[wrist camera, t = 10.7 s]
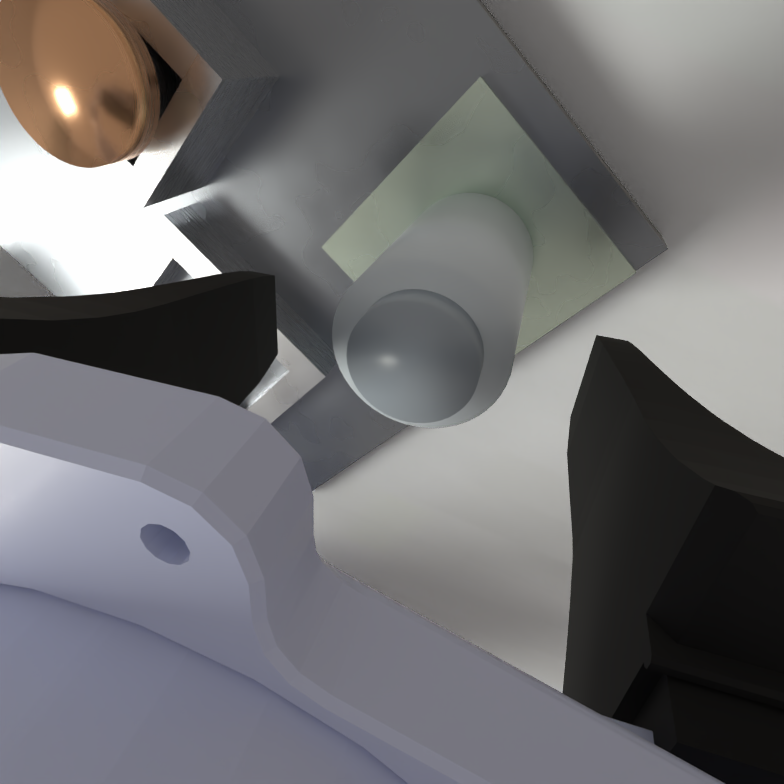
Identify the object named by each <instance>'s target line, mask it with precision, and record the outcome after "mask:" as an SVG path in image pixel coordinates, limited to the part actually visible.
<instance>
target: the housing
mask: <svg viewBox="0 0 784 784" xmlns="http://www.w3.org/2000/svg"><path fill="white" fill-rule="evenodd" d="M109 1H110V2H112V3H113V4H114V5H116V6H117V7H118V8H119V9H120V10H121V11H122V12H123V13H124V14H125V15H126V17H127V18H128V19H129V20H130V21H131V23H132V24H133V25H134V27H135V28H136V30H137V31H138V32H139V34H140V35H141V36H142V37H143V38H144V39H145V40H146V41H147V42H148V43H149V44H150V45H151V46H152V47H153V49H154V50H155V51H156V52H157V53H158V54H159V55H160V56H161V57H162V58H163V59H164V60H165V61H166V62H167V64H168V65H169V66H170V67H171V68H172V69H173V70H174V71H175V72H176V73H177V74H178V75H179V76H180V77H181V79H182V81H181V83H180V85H179V87H178V88H177V90H176V92H175V94H174V95H173V97H172V99H171V101H170V102H169V104H168V106H167V108H166V109H165V111H164V113H163V115H162V117H161V118H160V120H159V122H158V126H157V129H156V133H155V135H154V137H153V139H152V141H151V142H150V144H149V145H148V147H147V148H146V149H145V150H144V151H143V152H142V153H141V154H139V155H138V156H136V157H134V158H132V159H130V160H126V161H122V162H117V163H113V164H109V165H104V166H100V167H95V168H83V167H77V166H73V165H70V164H68V163H65V162H63V161H61V160H59V159H57V158H56V157H54V156H52V155H51V154H50V153H48V152H47V151H46V150H44V149H43V148H42V147H41V146H40V145H39V144H37V143H36V142H35V141H34V139H33V138H32V137H31V136H30V135H29V134H28V133H27V132H26V130H25V129H24V128H23V127H22V125H21V124H20V123H19V121H18V120H17V118H16V117H15V115H14V113H13V112H12V110H11V108H10V106H9V105H8V103H7V100H6V98H5V96H4V94H3V92H2V89H1V87H0V246H1V247H2V248H3V249H4V250H5V251H7V252H8V253H9V254H10V255H11V256H12V257H13V258H14V259H15V260H16V261H18V262H19V263H20V264H21V265H22V266H23V267H24V268H25V269H26V270H27V271H29V272H30V273H31V274H32V275H33V276H34V277H35V278H36V279H37V280H38V281H40V282H41V283H42V284H43V285H44V286H45V287H46V288H47V289H48V290H49V291H51V292H52V293H53V294H54V295H55V296H56V297H58V296H79V295H90V294H101V293H110V292H119V291H126V290H132V289H138V288H144V287H150V286H156V285H162V284H168V283H174V282H179V281H184V280H189V279H194V278H199V277H205V276H210V275H215V274H222V273H228V272H236V271H253V272H259V273H264V274H270V275H275V291H276V315H277V340H278V355H277V356H276V358H275V359H274V361H273V363H272V364H271V366H270V368H269V369H268V371H267V372H266V374H265V375H264V377H263V378H262V380H261V381H260V383H259V384H258V385H257V386H256V387H255V388H254V390H253V391H252V392H251V393H250V394H249V395H248V396H247V397H246V398H245V400H244V401H243V402H242V403H241V404H240V405H239V406H240V407H242V408H244V409H246V410H248V411H250V412H253V413H255V414H257V415H259V416H261V417H263V418H265V419H267V420H268V422H269V423H270V424H271V425H272V426H273V427H274V428H275V429H276V430H277V431H278V432H279V433H280V434H281V436H282V437H283V438H284V439H285V440H286V441H287V442H288V443H289V444H290V445H291V446H292V447H293V448H294V449H295V451H296V452H297V453H298V454H299V455H300V456H301V458H302V461H303V464H304V468H305V471H306V474H307V477H308V480H309V484H310V487H311V490H314V489H315V488H317V487H318V486H320V485H321V484H323V483H324V482H326V481H327V480H329V479H330V478H332V477H333V476H334V475H336V474H337V473H339V472H340V471H342V470H343V469H345V468H346V467H348V466H349V465H351V464H352V463H354V462H355V461H357V460H358V459H359V458H361V457H362V456H364V455H365V454H367V453H368V452H370V451H371V450H373V449H374V448H376V447H377V446H379V445H380V444H382V443H383V442H384V441H386V440H387V439H389V438H390V437H392V436H393V435H395V434H396V433H398V432H399V431H401V430H402V429H404V428H405V427H406V426H408V425H407V424H403V423H400V422H397V421H394V420H392V419H390V418H388V417H386V416H384V415H382V414H381V413H379V412H377V411H376V410H374V409H373V408H371V407H370V406H369V405H367V404H366V403H365V402H364V401H363V400H362V399H361V398H360V397H359V396H358V395H357V394H356V393H355V392H354V391H353V389H352V388H351V387H350V386H349V384H348V383H347V381H346V380H345V378H344V376H343V374H342V373H341V371H340V369H339V366H338V363H337V361H336V358H335V354H334V350H333V342H332V326H333V320H334V316H335V313H336V309H337V307H338V305H339V302H340V300H341V298H342V297H343V295H344V294H345V292H346V291H347V289H348V288H349V287H350V286H351V285H352V284H353V283H354V282H355V281H356V280H357V279H358V278H359V277H360V276H361V275H362V274H363V273H364V272H365V271H366V270H367V269H368V268H369V267H370V266H371V265H372V264H373V263H374V262H375V261H376V260H377V259H378V258H379V257H380V255H381V254H382V253H383V252H384V251H385V250H386V249H387V248H388V247H389V246H390V245H391V244H392V243H393V242H394V241H395V240H396V239H397V238H398V237H399V236H400V235H401V234H402V233H403V232H404V231H405V230H406V229H407V228H408V227H409V226H410V225H411V224H412V223H413V222H414V221H415V220H416V219H417V218H418V217H419V216H420V215H421V214H422V213H423V212H424V211H425V210H426V209H427V208H428V207H430V206H431V205H432V204H433V203H435V202H437V201H438V200H440V199H443V198H445V197H447V196H450V195H454V194H459V193H479V194H484V195H488V196H491V197H493V198H496V199H498V200H500V201H501V202H503V203H505V204H506V205H508V206H509V207H510V208H511V209H512V210H514V211H515V212H516V214H517V215H518V216H519V217H520V218H521V220H522V221H523V223H524V224H525V226H526V228H527V230H528V232H529V235H530V238H531V241H532V246H533V267H532V272H531V277H530V282H529V287H528V292H527V297H526V302H525V307H524V312H523V316H522V321H521V326H520V331H519V336H518V341H517V346H516V351H515V355H516V354H517V353H519V352H520V351H522V350H523V349H524V348H526V347H527V346H529V345H530V344H532V343H533V342H535V341H536V340H538V339H539V338H541V337H542V336H544V335H545V334H547V333H548V332H550V331H551V330H552V329H554V328H555V327H557V326H558V325H560V324H561V323H563V322H564V321H566V320H567V319H569V318H570V317H572V316H573V315H575V314H576V313H578V312H579V311H581V310H582V309H583V308H585V307H586V306H588V305H589V304H591V303H592V302H594V301H595V300H597V299H598V298H600V297H601V296H603V295H604V294H606V293H607V292H609V291H610V290H612V289H613V288H614V287H616V286H617V285H619V284H620V283H622V282H623V281H625V280H626V279H628V278H629V277H631V276H632V275H634V274H635V273H636V270H637V269H639V268H640V267H642V266H643V265H644V264H646V263H647V262H649V261H650V260H652V259H653V258H655V257H656V256H658V255H659V254H661V253H662V252H664V251H665V250H667V249H668V248H667V246H666V244H665V242H664V240H663V238H662V236H661V235H660V234H659V232H658V231H657V230H656V228H655V227H654V226H653V224H652V223H651V222H650V221H649V219H648V218H647V217H646V215H645V214H644V213H643V211H642V210H641V209H640V208H639V206H638V205H637V204H636V202H635V201H634V200H633V198H632V197H631V196H630V195H629V193H628V192H627V191H626V189H625V188H624V187H623V185H622V184H621V183H620V182H619V180H618V179H617V178H616V176H615V175H614V174H613V172H612V171H611V170H610V168H609V167H608V166H607V165H606V163H605V162H604V161H603V159H602V158H601V157H600V155H599V154H598V153H597V152H596V150H595V149H594V148H593V146H592V145H591V144H590V142H589V141H588V140H587V139H586V137H585V136H584V135H583V133H582V132H581V131H580V129H579V128H578V127H577V126H576V124H575V123H574V122H573V120H572V119H571V118H570V116H569V115H568V114H567V113H566V111H565V110H564V109H563V107H562V106H561V105H560V103H559V102H558V101H557V99H556V98H555V97H554V96H553V94H552V93H551V92H550V90H549V89H548V88H547V86H546V85H545V84H544V83H543V81H542V80H541V79H540V77H539V76H538V75H537V73H536V72H535V71H534V70H533V68H532V67H531V66H530V64H529V63H528V62H527V60H526V59H525V58H524V57H523V55H522V54H521V53H520V51H519V50H518V49H517V47H516V46H515V45H514V44H513V42H512V41H511V40H510V38H509V37H508V36H507V34H506V33H505V32H504V30H503V29H502V28H501V27H500V25H499V24H498V23H497V21H496V20H495V19H494V17H493V16H492V15H491V14H490V12H489V11H488V10H487V8H486V7H485V6H484V4H483V3H482V2H481V1H480V0H109Z"/></svg>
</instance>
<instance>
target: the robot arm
mask: <svg viewBox="0 0 784 784" xmlns="http://www.w3.org/2000/svg"><path fill="white" fill-rule="evenodd" d="M277 355H278V340H277V315H276V291H275V275H270V274H264V273H259V272H253V271H236V272H228V273H222V274H215V275H210V276H205V277H199V278H194V279H189V280H184V281H179V282H174V283H168V284H162V285H156V286H150V287H144V288H138V289H132V290H126V291H119V292H110V293H101V294H90V295H79V296H58V297H22V298H9V297H0V784H784V457H782V456H780V455H778V454H776V453H774V452H773V451H771V450H769V449H767V448H765V447H764V446H762V445H760V444H759V443H757V442H755V441H753V440H752V439H750V438H748V437H747V436H745V435H744V434H742V433H741V432H739V431H738V430H736V429H735V428H733V427H732V426H730V425H729V424H727V423H725V422H724V421H722V420H721V419H720V418H718V417H717V416H715V415H714V414H713V413H711V412H710V411H709V410H707V409H706V408H705V407H703V406H702V405H701V404H700V403H698V402H697V401H696V400H695V399H693V398H692V397H691V396H690V395H688V394H687V393H686V392H685V391H684V390H682V389H681V388H680V387H679V386H678V385H677V384H675V383H674V382H673V381H672V380H671V379H670V378H669V377H668V376H667V375H666V374H664V373H663V372H662V371H661V370H660V369H659V368H658V367H657V366H656V365H655V364H654V363H653V362H652V361H651V360H649V359H648V358H647V357H646V356H645V355H644V354H643V353H642V352H641V351H640V350H639V349H638V348H636V347H635V346H634V345H633V344H631V343H630V342H628V341H625V340H620V339H614V338H609V337H603V336H598V335H596V338H595V341H594V345H593V348H592V351H591V354H590V357H589V360H588V364H587V367H586V370H585V373H584V376H583V379H582V383H581V386H580V389H579V392H578V395H577V398H576V402H575V405H574V408H573V411H572V414H571V419H570V429H569V439H568V451H567V457H568V475H569V491H570V506H571V521H572V535H573V563H572V580H571V597H570V611H569V625H568V638H567V651H566V662H565V673H564V684H563V693H561V692H559V691H557V690H555V689H554V688H552V687H550V686H548V685H546V684H545V683H543V682H541V681H539V680H537V679H536V678H534V677H532V676H530V675H528V674H527V673H525V672H523V671H521V670H519V669H518V668H516V667H514V666H512V665H510V664H508V663H507V662H505V661H503V660H501V659H499V658H498V657H496V656H494V655H492V654H490V653H489V652H487V651H485V650H483V649H481V648H480V647H478V646H476V645H474V644H472V643H471V642H469V641H467V640H465V639H463V638H462V637H460V636H458V635H456V634H454V633H453V632H451V631H449V630H447V629H445V628H444V627H442V626H440V625H438V624H436V623H434V622H433V621H431V620H429V619H427V618H425V617H424V616H422V615H420V614H418V613H416V612H415V611H413V610H411V609H409V608H407V607H406V606H404V605H402V604H400V603H398V602H397V601H395V600H393V599H391V598H389V597H388V596H386V595H384V594H382V593H380V592H379V591H377V590H375V589H373V588H371V587H370V586H368V585H366V584H364V583H362V582H360V581H359V580H357V579H355V578H353V577H351V576H350V575H348V574H346V573H344V572H342V571H341V570H339V569H337V568H335V567H333V566H332V565H330V564H328V563H326V562H325V561H324V560H323V559H322V558H321V557H320V556H319V555H318V553H317V552H316V547H315V541H314V535H313V493H312V490H311V487H310V484H309V480H308V477H307V474H306V471H305V468H304V464H303V461H302V458H301V456H300V455H299V454H298V453H297V452H296V451H295V449H294V448H293V447H292V446H291V445H290V444H289V443H288V442H287V441H286V440H285V439H284V438H283V437H282V436H281V434H280V433H279V432H278V431H277V430H276V429H275V428H274V427H273V426H272V425H271V424H270V423H269V422H268V420H267V419H265V418H263V417H261V416H259V415H257V414H255V413H253V412H250V411H248V410H246V409H244V408H242V407H240V406H239V405H240V404H241V403H242V402H243V401H244V400H245V398H246V397H247V396H248V395H249V394H250V393H251V392H252V391H253V390H254V388H255V387H256V386H257V385H258V384H259V383H260V381H261V380H262V378H263V377H264V375H265V374H266V372H267V371H268V369H269V368H270V366H271V364H272V363H273V361H274V359H275V358H276V356H277Z"/></svg>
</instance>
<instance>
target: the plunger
mask: <svg viewBox="0 0 784 784" xmlns="http://www.w3.org/2000/svg"><path fill="white" fill-rule="evenodd" d="M181 81H182V79H181V77H180V76H179V75H178V74H177V73H176V72H175V71H174V70H173V69H172V68H171V67H170V66H169V65H168V64H167V62H166V61H165V60H164V59H163V58H162V57H161V56H160V55H159V54H158V53H157V52H156V51H155V50H154V49H153V47H152V46H151V45H150V44H149V43H148V42H147V41H146V40H145V39H144V38H143V37H142V36H141V35H140V34H139V32H138V31H137V30H136V28H135V27H134V25H133V24H132V23H131V21H130V20H129V19H128V18H127V17H126V15H125V14H124V13H123V12H122V11H121V10H120V9H119V8H118V7H117V6H116V5H114V4H113V3H112V2H110V1H109V0H1V1H0V87H1V89H2V92H3V94H4V96H5V98H6V100H7V103H8V105H9V106H10V108H11V110H12V112H13V113H14V115H15V117H16V118H17V120H18V121H19V123H20V124H21V125H22V127H23V128H24V129H25V130H26V132H27V133H28V134H29V135H30V136H31V137H32V138H33V139H34V141H35V142H36V143H37V144H39V145H40V146H41V147H42V148H43V149H44V150H46V151H47V152H48V153H50V154H51V155H52V156H54V157H56V158H57V159H59V160H61V161H63V162H65V163H68V164H70V165H73V166H77V167H83V168H95V167H100V166H104V165H109V164H113V163H117V162H122V161H126V160H130V159H132V158H134V157H136V156H138V155H139V154H141V153H142V152H143V151H144V150H145V149H146V148H147V147H148V145H149V144H150V142H151V141H152V139H153V137H154V135H155V133H156V129H157V126H158V122H159V120H160V118H161V117H162V115H163V113H164V111H165V109H166V108H167V106H168V104H169V102H170V101H171V99H172V97H173V95H174V94H175V92H176V90H177V88H178V87H179V85H180V83H181Z"/></svg>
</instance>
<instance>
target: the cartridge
mask: <svg viewBox="0 0 784 784" xmlns="http://www.w3.org/2000/svg"><path fill="white" fill-rule="evenodd" d="M532 267H533V246H532V241H531V238H530V235H529V232H528V230H527V228H526V226H525V224H524V223H523V221H522V220H521V218H520V217H519V216H518V215H517V214H516V212H515V211H514V210H512V209H511V208H510V207H509V206H508V205H506V204H505V203H503V202H501V201H500V200H498V199H496V198H493V197H491V196H488V195H484V194H479V193H459V194H454V195H450V196H447V197H445V198H443V199H440V200H438V201H437V202H435V203H433V204H432V205H431V206H430V207H428V208H427V209H426V210H425V211H424V212H423V213H422V214H421V215H420V216H419V217H418V218H417V219H416V220H415V221H414V222H413V223H412V224H411V225H410V226H409V227H408V228H407V229H406V230H405V231H404V232H403V233H402V234H401V235H400V236H399V237H398V238H397V239H396V240H395V241H394V242H393V243H392V244H391V245H390V246H389V247H388V248H387V249H386V250H385V251H384V252H383V253H382V254H381V255H380V257H379V258H378V259H377V260H376V261H375V262H374V263H373V264H372V265H371V266H370V267H369V268H368V269H367V270H366V271H365V272H364V273H363V274H362V275H361V276H360V277H359V278H358V279H357V280H356V281H355V282H354V283H353V284H352V285H351V286H350V287H349V288H348V289H347V291H346V292H345V294H344V295H343V297H342V298H341V300H340V302H339V305H338V307H337V309H336V313H335V316H334V320H333V326H332V342H333V350H334V354H335V358H336V361H337V363H338V366H339V369H340V371H341V373H342V374H343V376H344V378H345V380H346V381H347V383H348V384H349V386H350V387H351V388H352V389H353V391H354V392H355V393H356V394H357V395H358V396H359V397H360V398H361V399H362V400H363V401H364V402H365V403H366V404H367V405H369V406H370V407H371V408H373V409H374V410H376V411H377V412H379V413H381V414H382V415H384V416H386V417H388V418H390V419H392V420H394V421H397V422H400V423H403V424H407V425H411V426H415V427H423V428H442V427H450V426H454V425H459V424H461V423H464V422H467V421H469V420H471V419H473V418H475V417H477V416H479V415H480V414H482V413H483V412H485V411H486V410H487V409H488V408H489V407H490V406H492V405H493V404H494V403H495V401H496V400H497V399H498V398H499V396H500V395H501V394H502V392H503V390H504V389H505V387H506V385H507V382H508V380H509V377H510V374H511V370H512V366H513V361H514V356H515V351H516V346H517V341H518V336H519V331H520V326H521V321H522V316H523V312H524V307H525V302H526V297H527V292H528V287H529V282H530V277H531V272H532Z"/></svg>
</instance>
